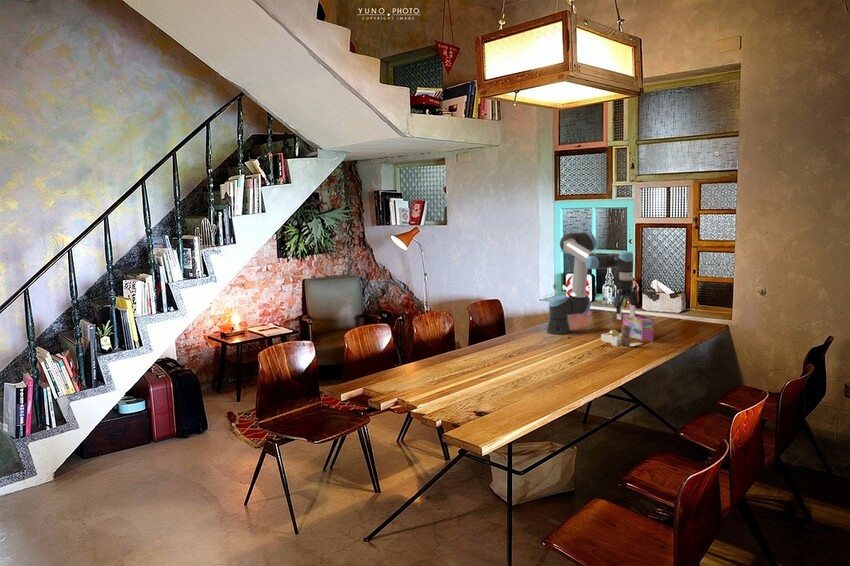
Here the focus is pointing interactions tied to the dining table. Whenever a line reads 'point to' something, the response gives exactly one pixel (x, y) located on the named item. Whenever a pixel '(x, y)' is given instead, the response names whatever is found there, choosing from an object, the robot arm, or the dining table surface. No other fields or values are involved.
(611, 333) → the dome
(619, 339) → the die
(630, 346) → the board
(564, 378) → the dining table surface
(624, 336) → the brown rounded rod
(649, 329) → the gum box
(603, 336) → the dome collar
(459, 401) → the dining table surface
